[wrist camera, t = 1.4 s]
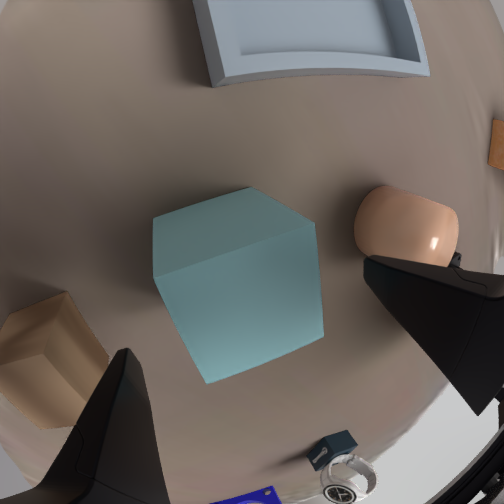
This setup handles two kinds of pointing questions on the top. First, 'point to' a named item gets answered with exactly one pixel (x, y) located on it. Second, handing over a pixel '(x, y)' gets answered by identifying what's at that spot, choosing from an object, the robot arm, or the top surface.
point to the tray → (309, 39)
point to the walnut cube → (50, 362)
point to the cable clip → (254, 497)
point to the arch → (497, 145)
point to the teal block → (238, 280)
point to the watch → (336, 452)
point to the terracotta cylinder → (405, 227)
